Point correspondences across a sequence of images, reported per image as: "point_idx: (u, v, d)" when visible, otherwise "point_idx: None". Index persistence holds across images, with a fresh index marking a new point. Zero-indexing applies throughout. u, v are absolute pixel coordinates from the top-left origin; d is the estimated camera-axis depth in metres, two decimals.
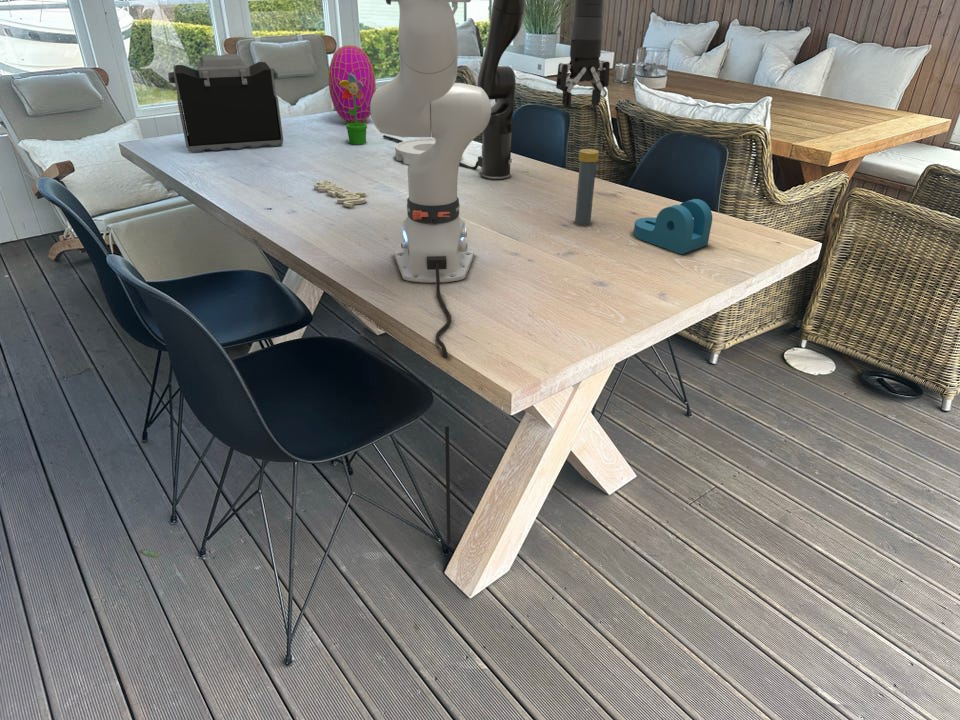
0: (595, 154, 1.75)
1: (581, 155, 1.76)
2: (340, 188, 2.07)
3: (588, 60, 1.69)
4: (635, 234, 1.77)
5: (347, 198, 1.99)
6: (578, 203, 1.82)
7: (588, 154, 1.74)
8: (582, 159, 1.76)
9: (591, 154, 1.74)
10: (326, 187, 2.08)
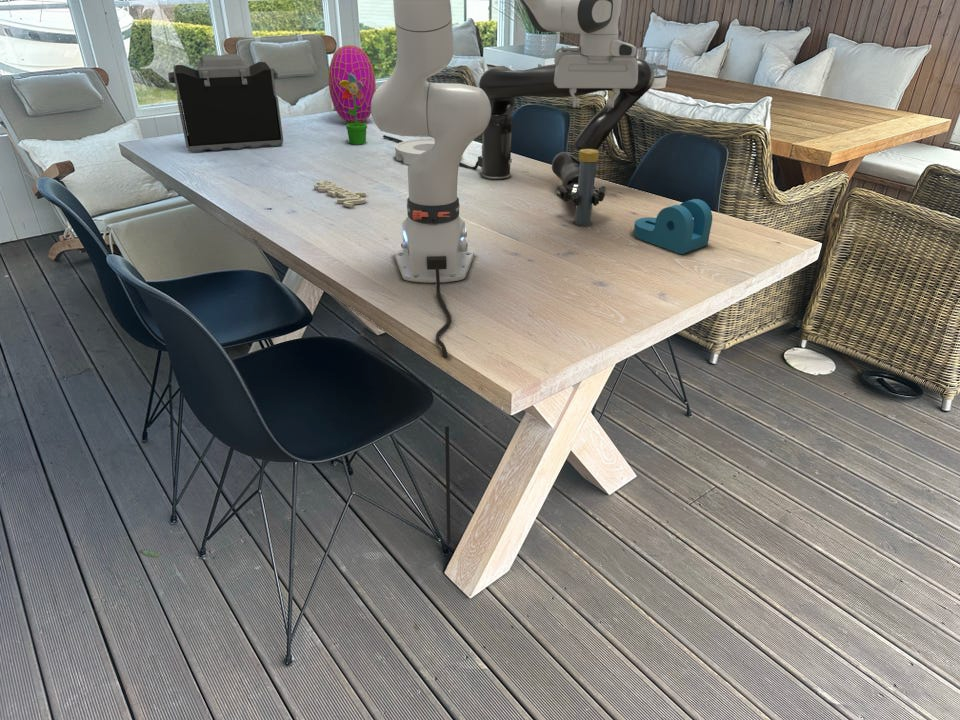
0: (595, 154, 1.75)
1: (581, 155, 1.76)
2: (340, 188, 2.07)
3: None
4: (635, 234, 1.77)
5: (347, 198, 1.99)
6: (578, 203, 1.82)
7: (588, 154, 1.74)
8: (582, 159, 1.76)
9: (591, 154, 1.74)
10: (326, 187, 2.08)
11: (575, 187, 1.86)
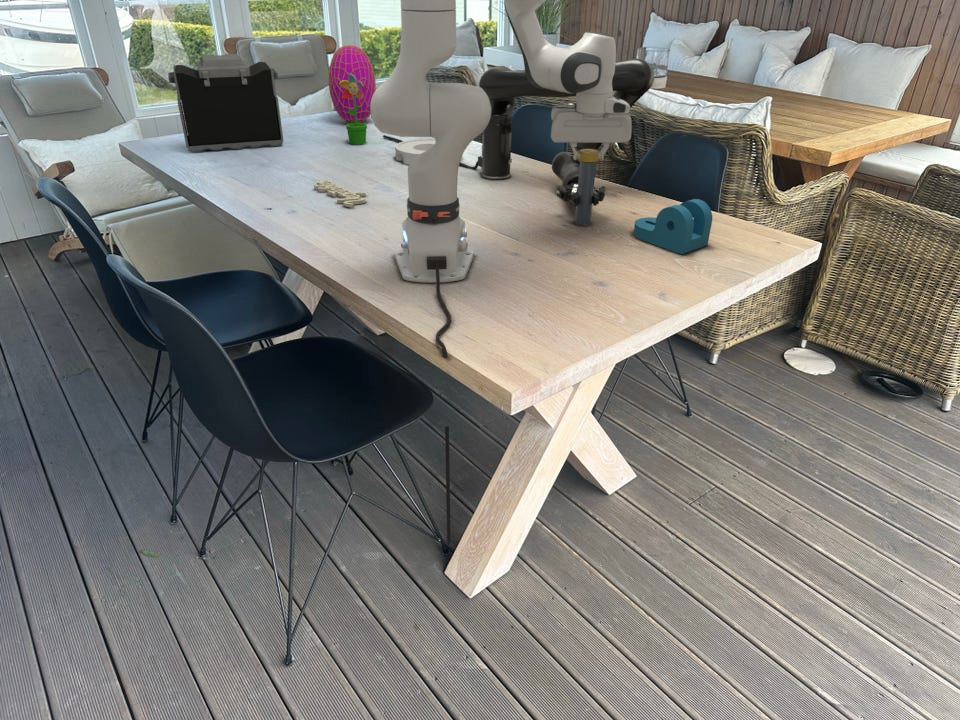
0: (595, 154, 1.75)
1: (581, 155, 1.76)
2: (340, 188, 2.07)
3: None
4: (635, 234, 1.77)
5: (347, 198, 1.99)
6: (578, 203, 1.82)
7: (588, 154, 1.74)
8: (582, 159, 1.76)
9: (591, 154, 1.74)
10: (326, 187, 2.08)
11: (575, 187, 1.86)
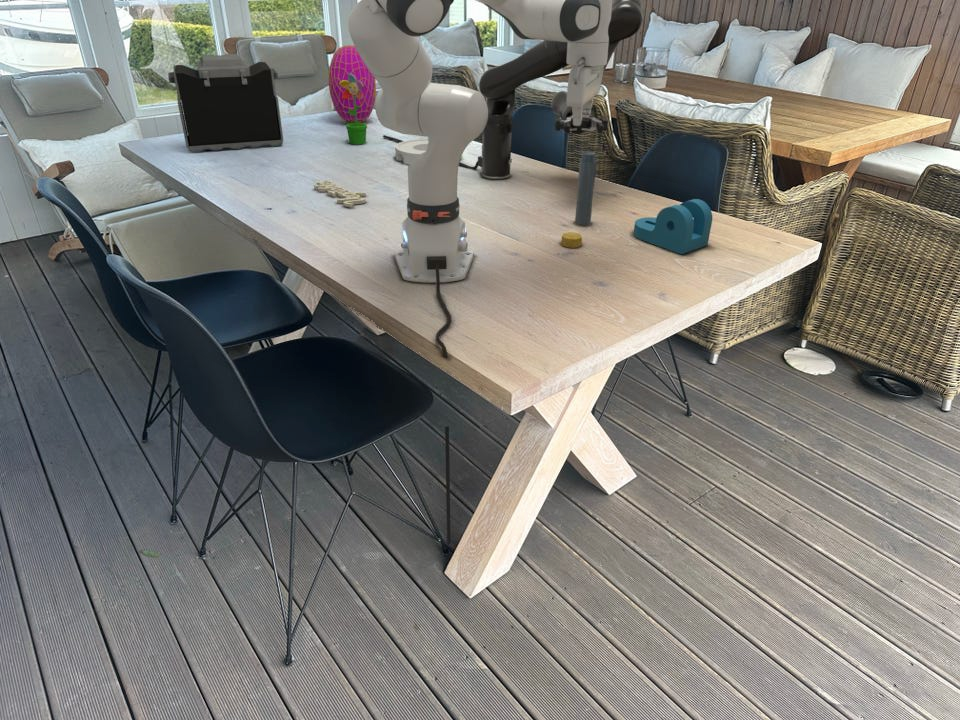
0: (581, 237, 1.71)
1: (571, 242, 1.70)
2: (340, 188, 2.07)
3: None
4: (635, 234, 1.77)
5: (347, 198, 1.99)
6: (578, 203, 1.82)
7: (578, 239, 1.70)
8: (572, 245, 1.70)
9: (580, 238, 1.70)
10: (326, 187, 2.08)
11: (571, 117, 1.89)
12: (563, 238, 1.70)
